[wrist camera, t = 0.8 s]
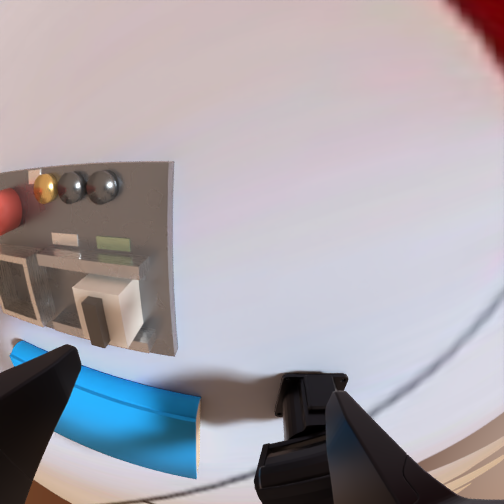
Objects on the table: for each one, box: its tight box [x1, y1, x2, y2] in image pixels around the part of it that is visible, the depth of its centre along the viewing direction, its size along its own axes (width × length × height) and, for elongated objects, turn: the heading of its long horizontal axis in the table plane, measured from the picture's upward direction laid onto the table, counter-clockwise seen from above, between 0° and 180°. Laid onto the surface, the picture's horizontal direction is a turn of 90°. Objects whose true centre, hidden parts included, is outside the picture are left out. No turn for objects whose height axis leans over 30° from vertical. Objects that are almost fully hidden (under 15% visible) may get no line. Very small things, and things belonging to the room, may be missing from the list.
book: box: [9, 341, 201, 479], centre depth 27 cm, size 17×4×25 cm
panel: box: [0, 161, 178, 357], centre depth 19 cm, size 16×20×4 cm
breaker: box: [72, 273, 143, 348], centre depth 19 cm, size 4×4×4 cm
